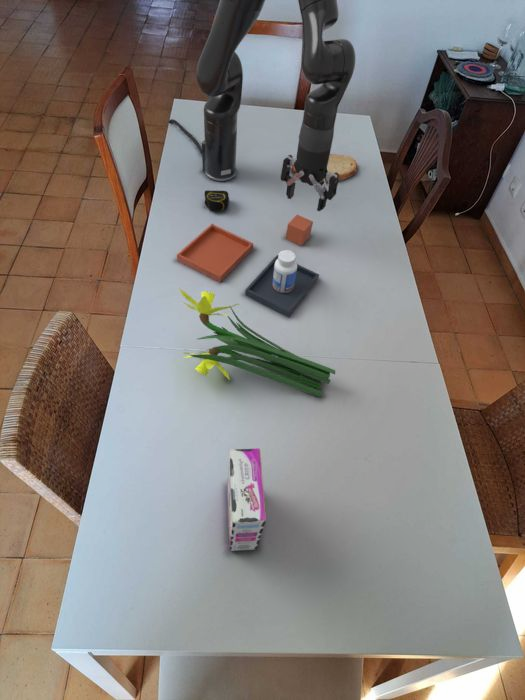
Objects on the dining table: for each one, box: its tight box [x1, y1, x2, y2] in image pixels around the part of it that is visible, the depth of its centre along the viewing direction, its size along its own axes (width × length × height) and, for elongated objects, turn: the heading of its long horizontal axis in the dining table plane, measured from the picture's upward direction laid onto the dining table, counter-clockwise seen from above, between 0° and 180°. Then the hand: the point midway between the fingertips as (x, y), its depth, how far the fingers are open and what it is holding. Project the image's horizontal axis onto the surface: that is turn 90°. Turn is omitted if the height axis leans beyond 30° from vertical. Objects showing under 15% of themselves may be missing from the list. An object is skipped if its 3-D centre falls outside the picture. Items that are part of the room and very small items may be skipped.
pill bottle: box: [273, 249, 298, 293], centre depth 108 cm, size 6×5×10 cm
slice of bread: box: [290, 153, 358, 183], centre depth 144 cm, size 18×18×4 cm
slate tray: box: [244, 254, 320, 318], centre depth 112 cm, size 12×15×2 cm
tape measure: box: [204, 190, 230, 212], centre depth 128 cm, size 7×7×4 cm
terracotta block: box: [285, 214, 314, 247], centre depth 122 cm, size 5×5×5 cm
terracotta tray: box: [176, 223, 254, 283], centre depth 117 cm, size 13×15×2 cm
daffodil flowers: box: [178, 287, 336, 398], centre depth 92 cm, size 17×15×35 cm
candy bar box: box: [226, 447, 267, 552], centre depth 72 cm, size 11×5×16 cm, turn 5°
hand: (304, 203), depth 116 cm, fingers open, 8 cm apart
